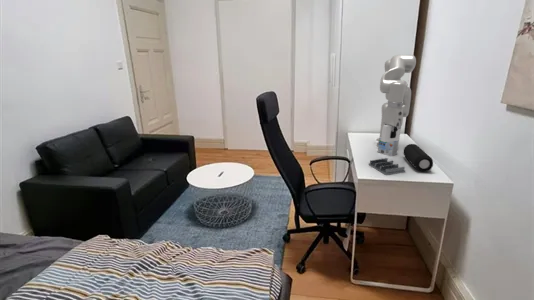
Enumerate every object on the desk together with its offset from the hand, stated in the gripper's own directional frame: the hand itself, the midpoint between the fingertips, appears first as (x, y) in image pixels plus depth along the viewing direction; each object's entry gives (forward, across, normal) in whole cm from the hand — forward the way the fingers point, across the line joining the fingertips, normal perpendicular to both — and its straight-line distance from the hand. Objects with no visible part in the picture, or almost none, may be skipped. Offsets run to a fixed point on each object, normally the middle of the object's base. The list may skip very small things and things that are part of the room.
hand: (390, 136), depth 166 cm
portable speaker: (+20, -1, -21) cm, 29 cm away
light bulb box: (+20, +22, -18) cm, 34 cm away
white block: (+2, 0, 0) cm, 2 cm away
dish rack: (+20, 0, 0) cm, 20 cm away
